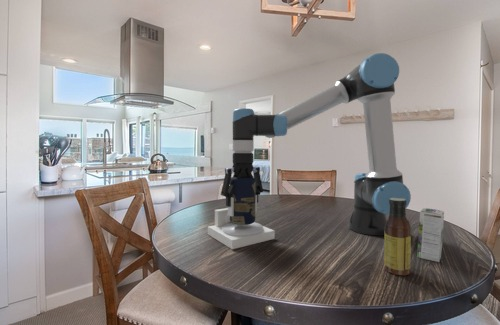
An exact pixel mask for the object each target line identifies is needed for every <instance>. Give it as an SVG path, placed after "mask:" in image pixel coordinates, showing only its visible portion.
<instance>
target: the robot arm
mask: <svg viewBox="0 0 500 325" xmlns="http://www.w3.org/2000/svg"><path fill="white" fill-rule="evenodd" d="M399 74H400V66H399V63H398V61H397V60H396V59H395V58H394V57H393V56H391V55H390V54H389V53H388V54H387V53H385V52H377V53H374V54H373V53H372V54H371V55H369V56H367V57H366V58H364V59H363V60H362V62H361V63H360V64H358V65H357V66H356V67H354V69H352V70H351V71H350V72H349V73H348V74H347V75H345V76H344V77H343V78H340V79H339V80H336V81H335V83H334V85H332V86H330V87H328V88H326V89H325V90H322V91H320V92H318V93H317V94H315V95H313V96H310V97H309V98H307V99H304V100H303V101H300V102H299V103H297V104H294V105H293V106H290V107H289V108H287V109H284V110H283V111H281V112H279V113H276V114H255V113H254V112H255V110H253V108H247V107H246V108H245V107H241V108H236V109H234V110H233V113H232V121H231V122H232V152H233V153H232V166H231V167H229V168H228V167H225V168H224V178H223V182H222V186H221V192H220V196H222V197H225V205H226V208H228V215H229V216H234V198H232V195H233V192H234V185H231V184H230V181H231V178H237V179H238V178H246V177H248V176H249V177H254V178H255V183H256V200H255V213H258V203H259V196H260V195H261V193H263V192H264V189H263V185H262V184H263V183H262V179H261V173H260V172H261V168H260V166H254V165H253V163H254V153H253V152H254V151H255V150H254V145H255V144H254V136H255V137H266V138H269V139H272V138H275V137H284V136H286V135H288V134H287V133H288V130H289V129H291V128H294V127H295V126H298V125H301V124H302V123H305V122H306V121H308V120H310V119H312V118H314V117H316V116H318V115H321V114H322V113H324V112H326V111H329V110H330V109H333V108H335V107H337V106H339V105H341V104H342V103H343V104H346V105H347V104H349V103H350V102H353V101H356V100H358V102H360V103H362V105H363V107H362V108H363V115H364V116H363V117H364V125H365V126H364V127H365V129H364V130H365V138H366V147H367V158H368V168H369V170H368V172H367V173H365V172H364V173H362V172H361V173H356V174H355V176H354V181H353V183H354V186H353V187H354V188H353V189H354V190H353V191H354V195H353V210H352V212H351V216H350V218H349V220H348V229H350V230H351V231H353V232H354V233H355V232H356V233H358V234H362V235H369V236H383V235H384V236H385V233H384V232H385V225H386V222H387V220H388V216H389V212H390V204H389V199H390V198H403V199H406V203H407V204H406V206H405V210H406V209H407V208H408V207H409V205H410V203H411V196H412V195H411V191H410V188H408V186H406V184H404V179H403V178H404V177H403V172H401V171H400V170H398V167H397V157H396V148H395V147H396V146H395V137H394V125H393V113H392V103H391V99H392V97H393V96H394V95H395V94H396V89H395V83H396V81H397V80H398V78H399V76H400V75H399ZM252 173H253V174H252ZM232 175H233V176H232ZM387 215H388V216H387Z"/></svg>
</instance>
